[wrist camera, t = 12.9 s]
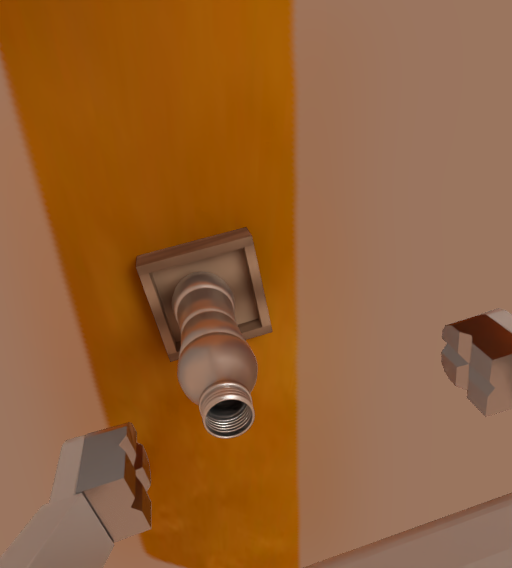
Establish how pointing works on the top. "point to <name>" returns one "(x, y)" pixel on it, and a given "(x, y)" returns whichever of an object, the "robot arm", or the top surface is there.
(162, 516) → the top surface
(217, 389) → the silver metal bottle
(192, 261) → the walnut tray
